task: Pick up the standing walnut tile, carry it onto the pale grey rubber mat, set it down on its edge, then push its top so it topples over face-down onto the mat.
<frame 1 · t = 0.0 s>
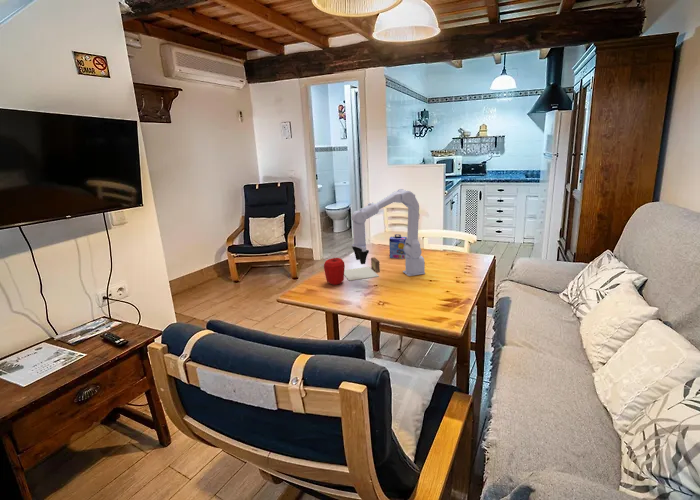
hand: (360, 261, 192), 10 cm above the table, fingers open, 7 cm apart
mat: (359, 274, 204), on the table
tile: (375, 270, 210), on the table
ink cartridge box: (398, 257, 229), on the table
apple: (335, 283, 193), on the table
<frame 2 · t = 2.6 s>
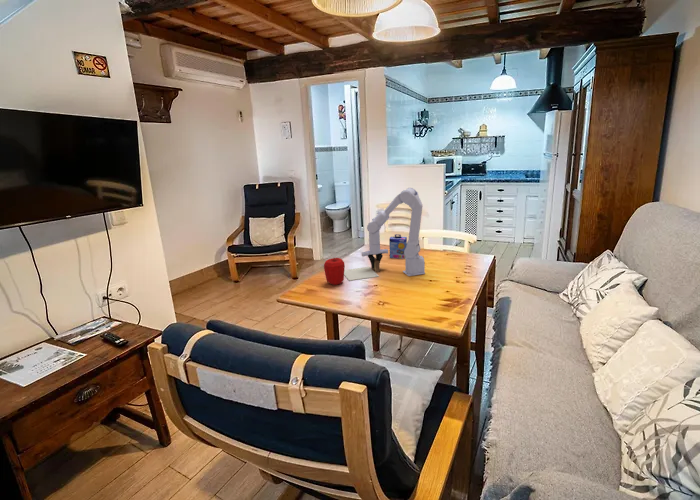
hand: (375, 267, 209), 1 cm above the table, fingers closed on tile, 2 cm apart
tile: (375, 269, 210), on the table, touching gripper
everything else where it was.
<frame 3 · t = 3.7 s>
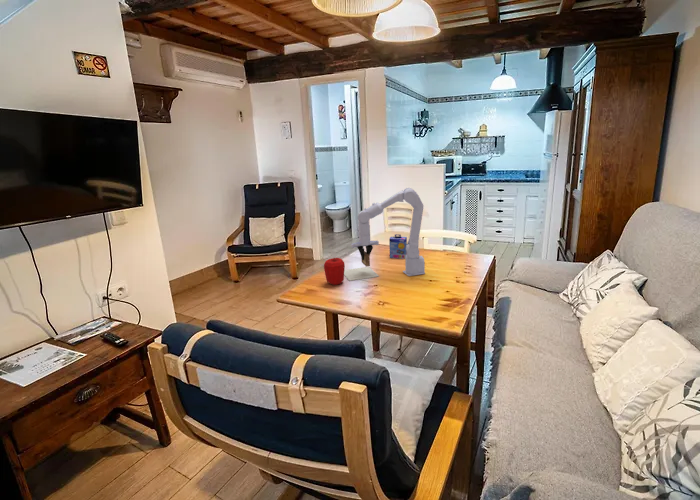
hand: (365, 259, 201), 8 cm above the table, fingers closed on tile
tile: (365, 264, 202), point 6 cm above the table, touching gripper
everything else where it was.
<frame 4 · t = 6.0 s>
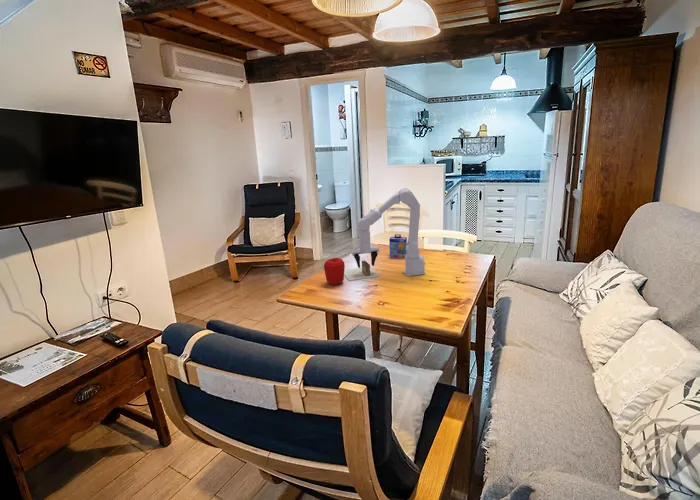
hand: (365, 266, 202), 4 cm above the table, fingers open, 7 cm apart
tile: (366, 273, 203), resting on mat
everything else where it was.
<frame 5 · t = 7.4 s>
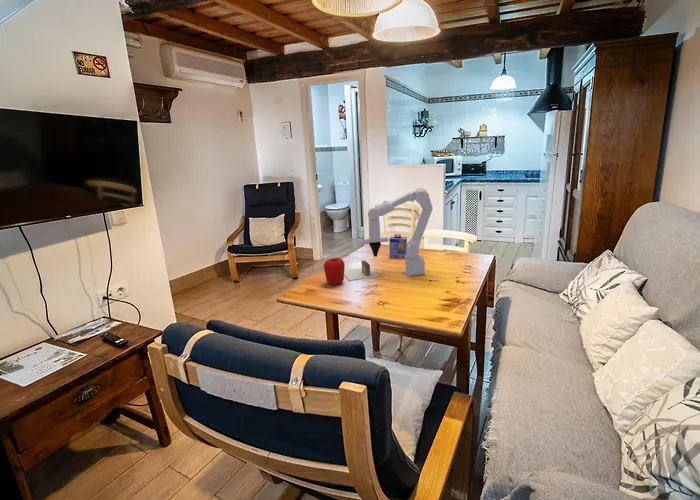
hand: (375, 256, 202), 9 cm above the table, fingers closed
nothing on the table moved.
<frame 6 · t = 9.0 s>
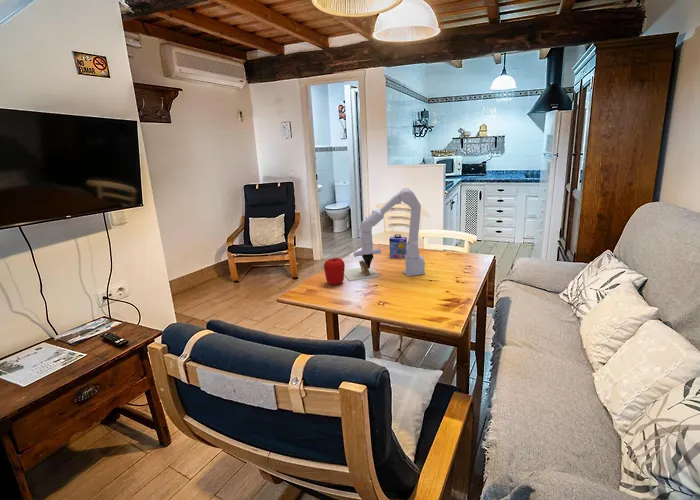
hand: (367, 267, 203), 3 cm above the table, fingers closed
tile: (365, 273, 203), point 1 cm above the table, tilted 14°, touching mat
everything else where it was.
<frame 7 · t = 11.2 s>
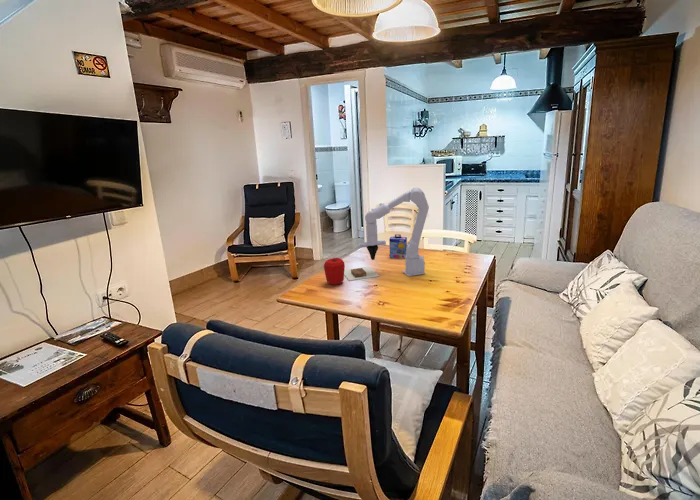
hand: (372, 259, 203), 8 cm above the table, fingers closed
tile: (364, 271, 202), point 2 cm above the table, tilted 90°, touching mat
everything else where it was.
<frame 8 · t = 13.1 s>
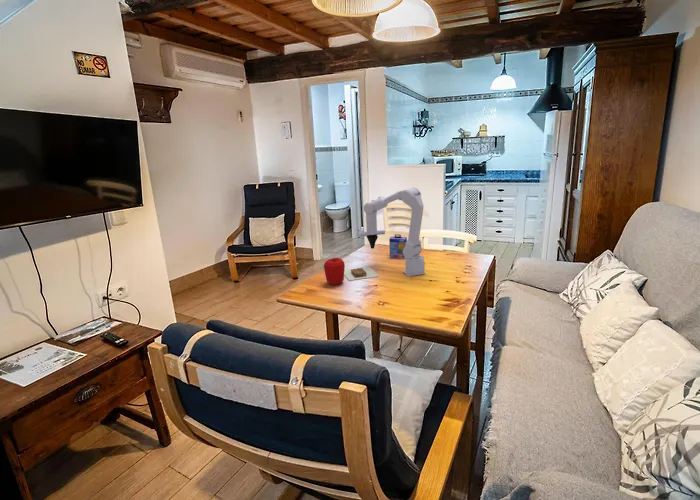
hand: (372, 248, 213), 10 cm above the table, fingers closed
nothing on the table moved.
at the end: tile tilted 90°; tile inside the target area on the mat (2.8 cm from its centre), point 1.5 cm above the mat's base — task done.
